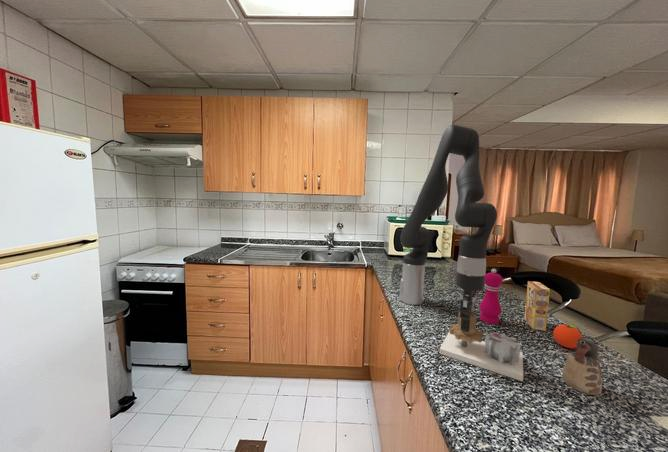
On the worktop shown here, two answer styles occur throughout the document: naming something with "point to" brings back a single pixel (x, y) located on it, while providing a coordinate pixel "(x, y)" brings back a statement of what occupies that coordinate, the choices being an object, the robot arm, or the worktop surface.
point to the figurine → (584, 368)
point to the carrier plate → (479, 356)
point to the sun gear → (502, 348)
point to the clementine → (567, 335)
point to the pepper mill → (491, 298)
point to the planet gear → (467, 336)
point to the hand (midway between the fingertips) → (466, 327)
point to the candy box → (537, 305)
